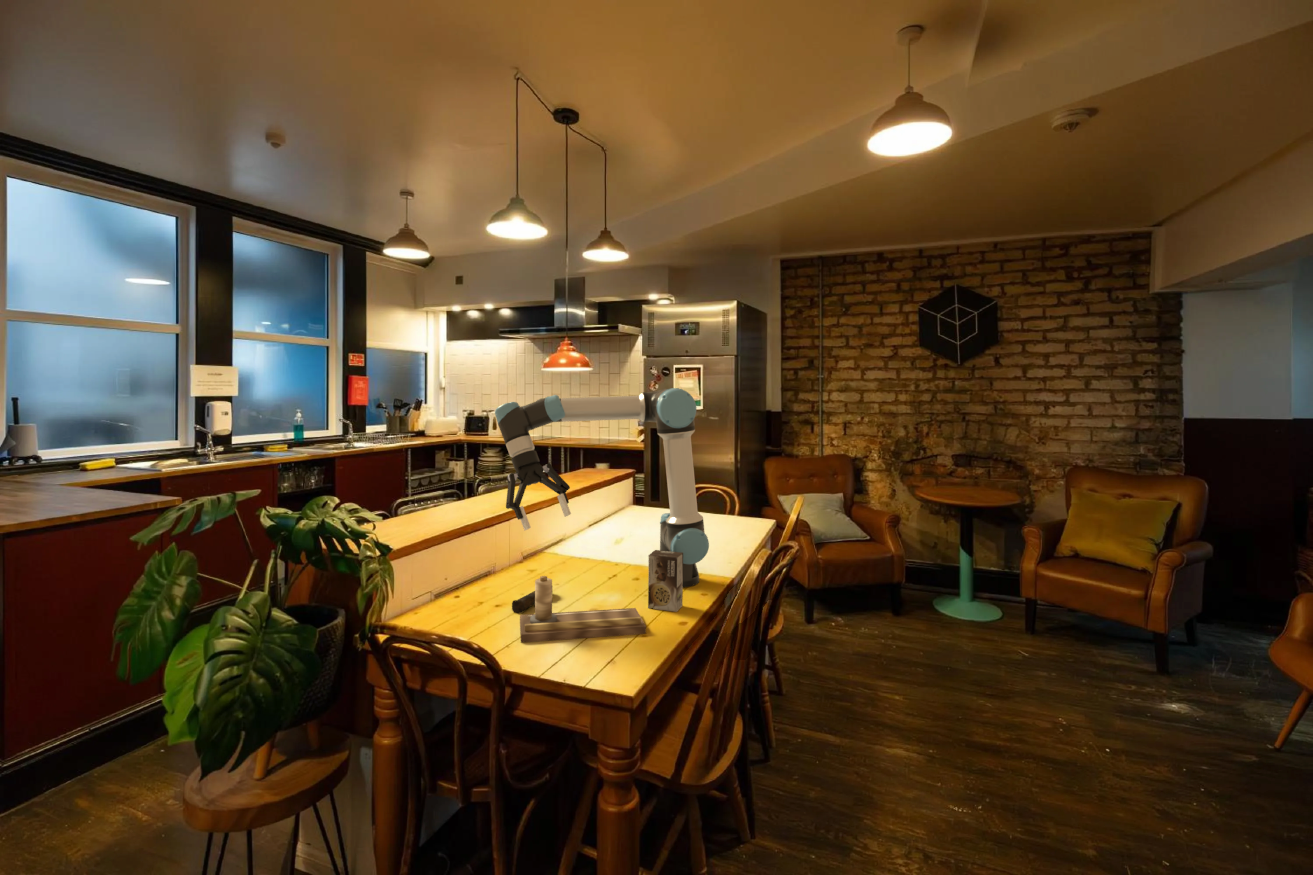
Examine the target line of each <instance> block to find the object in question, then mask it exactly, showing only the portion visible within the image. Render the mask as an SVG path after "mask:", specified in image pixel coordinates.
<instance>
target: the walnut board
mask: <svg viewBox="0 0 1313 875" xmlns="http://www.w3.org/2000/svg"><path fill="white" fill-rule="evenodd" d="M552 614H555V615H556V616H557V622H550V623H534V624H531V623H530V617H531V616H532V615H535V613H532V614H531V613H529V614H520V615H519V632H520V643H533V642H549V641H560V640H561V641H562V640H574V639H576V640H577V639H590V638H603V637H605V638H606V637H615V636H617V637H619V636H633V635H645V633H646V634H647V626H646V624H645V622H644V620H643V618H642V616H641V615H640V613H639V612H638V610H637V608H636V607H628V608H627V607H626V608H613V609H597V610H594V609H593V610H581V611H580V610H579V611H565V612H562V611H561V612H552Z"/></svg>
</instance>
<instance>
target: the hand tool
mask: <svg viewBox="0 0 1313 875" xmlns="http://www.w3.org/2000/svg"><path fill="white" fill-rule="evenodd" d="M532 606H535V590H534V591H532V592H530V593H528V594H526V595H524V596H522V597H520V598H519V599H514V600H512V602H511V610H512V612H513V613H515V612H516V613H517V614H522V613H524V612H526V610H527V609H529V608H530V607H532Z"/></svg>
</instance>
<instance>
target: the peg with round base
mask: <svg viewBox="0 0 1313 875" xmlns="http://www.w3.org/2000/svg"><path fill="white" fill-rule="evenodd" d="M534 591H535V604H534V606H535V607H534V614H535V615H532V616H531V617H530V623H531V624H534V623H550V622H557V616H556V615H555V614H552V613H553V579H551V578H548V575H541V576H540V578H537V579H535V581H534Z"/></svg>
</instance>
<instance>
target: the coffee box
mask: <svg viewBox="0 0 1313 875" xmlns="http://www.w3.org/2000/svg"><path fill="white" fill-rule="evenodd" d="M647 557H648V576H647V577H648V583H647V584H648V591H647V596H648V597H647V602H648V603H647V609H651V608H653V609H652V610H661V611H667V612H675V613H677V612H678V611H679V610H680V609H681V608H682V607H683V592H684V591H683V589H684V587H683V552H672V551H662V550H660V549H654V550H653V551H652V552H651V553H649V554H648V556H647Z"/></svg>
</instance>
